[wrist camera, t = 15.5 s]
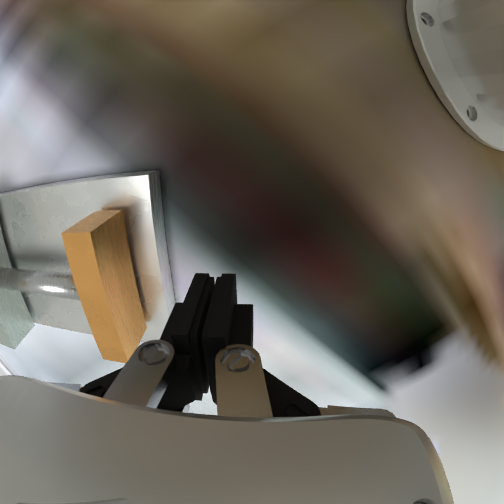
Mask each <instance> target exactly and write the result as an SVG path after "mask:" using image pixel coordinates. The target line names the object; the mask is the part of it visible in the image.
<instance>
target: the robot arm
mask: <svg viewBox="0 0 504 504" xmlns="http://www.w3.org/2000/svg"><path fill="white" fill-rule="evenodd" d="M406 10H407V20H408V26H409V30H410V34H411V38H412V42H413V45H414V47H415V50H416V53H417V55H418V58H419V61H420V63H421V65H422V67H423V69H424V71H425V73H426V75H427V77H428V79H429V82H430V84H431V85H432V87H433V88H434V90H435V92H436V93H437V95H438V97H439V98H440V100H441V102H442V103H443V105H444V106H445V107H446V109H447V110H448V111H449V113H450V114H451V115H452V117H453V118H454V119H455V120H456V121H457V122H458V123H459V125H460V126H461V127H462V128H463V129H464V130H465V131H466V132H467V133H468V134H470V135H471V136H472V137H473V138H475V139H476V140H477V141H478V142H480V143H482V144H484V145H486V146H488V147H490V148H493V149H497V150H501V151H504V0H407V4H406ZM209 386H210V391H211V394H212V399H213V402H214V403H215V404H216V405H217V412H218V416H217V415H205V414H194V413H188V412H189V407H190V406H189V403H191V402H193V401H195V400H200V401H202V396H203V393H208V389H209ZM0 504H454V502H453V498H452V494H451V490H450V486H449V483H448V480H447V477H446V475H445V471H444V468H443V466H442V463H441V461H440V458H439V456H438V453H437V451H436V449H435V447H434V445H433V444H432V442H431V440H430V438H429V437H428V436H427V434H426V433H425V432H424V431H423V430H422V429H421V428H420V427H419V426H417V425H416V424H414V423H412V422H409V421H406V420H403V419H399V418H396V417H395V416H394V414H393V413H391V412H389V411H388V410H384V409H372V408H354V407H341V406H330V405H328V407H327V408H321V407H318V406H317V405H316V404H315V403H313V402H312V401H311V400H309V399H308V398H306V397H305V396H303V395H301V394H300V393H298V392H297V391H295V390H294V389H292V388H291V387H289V386H288V385H286V384H285V383H284V382H282V381H281V380H279V379H278V378H276V377H275V376H273V375H272V374H270V373H269V372H268V371H266V370H265V369H263V368H262V363H261V358H260V355H259V353H258V352H257V351H256V350H255V349H254V348H253V304H237V290H236V274H222V276H221V277H217V279H216V283H215V282H214V277H210V276H209V273H196V274H195V276H194V278H193V280H192V283H191V285H190V287H189V290H188V292H187V295H186V297H185V300H184V302H183V303H175V305H174V307H173V309H172V312H171V314H170V316H169V318H168V321H167V323H166V325H165V328H164V330H163V332H162V335H161V337H160V339H159V340H150V341H147V342H144V343H143V344H141V345H140V346H139V347H138V348H137V349H136V350H135V351H134V353H133V354H132V356H131V357H130V358H129V360H128V361H127V363H126V364H125V366H124V367H123V368H121V369H119V370H116V371H114V372H112V373H110V374H107V375H105V376H103V377H101V378H98V379H96V380H94V381H92V382H89V383H88V384H86V385H85V386H84V387H82V386H81V384H65V383H51V382H44V381H41V380H37V379H34V378H29V377H24V376H16V375H5V376H0Z"/></svg>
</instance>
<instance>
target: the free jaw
mask: <svg viewBox="0 0 504 504" xmlns="http://www.w3.org/2000/svg"><path fill="white" fill-rule="evenodd" d="M61 234H62V238H63V243H64V247H65V251H66V255H67V258H68V262H69V266H70V269H71V272H56V271H42V270H29V269H17V268H12V266H11V263H10V260H9V256H8V253H7V250H6V246H5V242H4V239H3V235H2V231H1V227H0V343H1V344H3V345H5V346H8V347H10V348H13V349H15V348H16V347H17V346H18V344H19V343H20V342H21V341H22V340H23V338H24V337H25V336H26V335H27V334H28V332H29V331H30V330H31V329H32V328H33V327H34V326H35V325H34V323H33V320H32V318H31V316H30V314H29V311H28V309H27V307H26V304H25V302H24V299H23V297H22V294H21V292H24V293H31V294H37V295H44V296H51V297H58V298H65V299H73V300H80V301H81V304H82V307H83V310H84V312H85V315H86V318H87V321H88V323H89V326H90V328H91V331H92V333H93V336H94V338H95V341H96V343H97V345H98V348H99V350H100V352H101V355H102V357H103V359H106V360H111V361H117V362H122V363H127V361H128V360H129V358H130V357H131V356H132V354H133V353H134V351H135V350H136V349H137V347H138V345H139V343H140V341H141V339H142V337H143V335H144V333H145V331H146V329H147V326H146V322H145V318H144V314H143V310H142V306H141V302H140V298H139V294H138V290H137V285H136V281H135V276H134V272H133V267H132V262H131V257H130V251H129V246H128V240H127V234H126V228H125V222H124V215H123V209H122V210H104V211H95V212H94V213H92V214H90V215H89V216H87V217H85V218H84V219H82V220H81V221H79V222H78V223H76V224H74V225H73V226H71V227H70V228H68V229H67V230H65V231H64V232H62V233H61Z"/></svg>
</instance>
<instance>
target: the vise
mask: <svg viewBox="0 0 504 504" xmlns="http://www.w3.org/2000/svg"><path fill="white" fill-rule="evenodd" d="M122 209H123V215H124V222H125V228H126V234H127V240H128V246H129V251H130V257H131V262H132V267H133V272H134V276H135V281H136V285H137V290H138V294H139V298H140V302H141V306H142V310H143V314H144V318H145V322H146V326H147V329H146V331H145V333H144V335H143V337H142V339H141V342H147V341H150V340H159V339H160V337H161V335H162V332H163V330H164V328H165V325H166V323H167V321H168V318H169V316H170V314H171V312H172V309H173V307H174V305H175V303H176V302H175V296H174V290H173V284H172V278H171V271H170V265H169V258H168V250H167V243H166V235H165V226H164V217H163V208H162V197H161V186H160V173H159V170H152V171H140V172H129V173H120V174H111V175H102V176H94V177H87V178H80V179H73V180H67V181H60V182H54V183H49V184H43V185H38V186H33V187H28V188H23V189H18V190H13V191H9V192H4V193H0V227H1V231H2V235H3V239H4V242H5V246H6V250H7V253H8V256H9V260H10V263H11V266H12V268H17V269H29V270H42V271H56V272H71V269H70V266H69V262H68V258H67V255H66V251H65V247H64V243H63V238H62V234H61V233H62V232H64V231H65V230H67V229H68V228H70V227H71V226H73V225H74V224H76V223H78V222H79V221H81V220H82V219H84V218H85V217H87V216H89V215H90V214H92V213H94V212H95V211H104V210H122ZM21 294H22V297H23V299H24V302H25V304H26V307H27V309H28V311H29V314H30V316H31V318H32V320H33V322H34V323H39V324H43V325H47V326H52V327H56V328H61V329H66V330H71V331H76V332H82V333H87V334H93V333H92V331H91V328H90V326H89V323H88V321H87V318H86V315H85V312H84V310H83V307H82V304H81V301H80V300H73V299H65V298H58V297H51V296H44V295H37V294H31V293H24V292H21Z"/></svg>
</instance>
